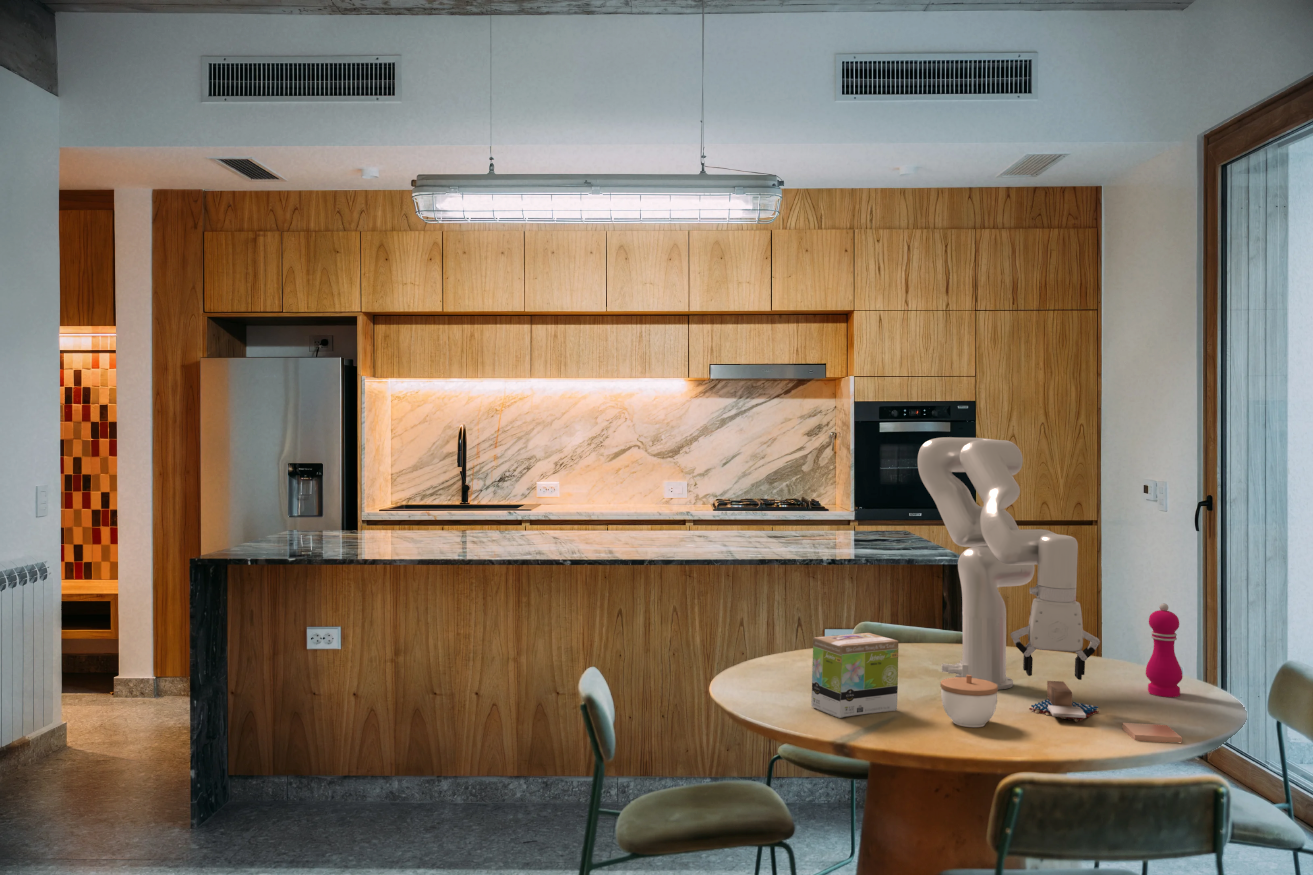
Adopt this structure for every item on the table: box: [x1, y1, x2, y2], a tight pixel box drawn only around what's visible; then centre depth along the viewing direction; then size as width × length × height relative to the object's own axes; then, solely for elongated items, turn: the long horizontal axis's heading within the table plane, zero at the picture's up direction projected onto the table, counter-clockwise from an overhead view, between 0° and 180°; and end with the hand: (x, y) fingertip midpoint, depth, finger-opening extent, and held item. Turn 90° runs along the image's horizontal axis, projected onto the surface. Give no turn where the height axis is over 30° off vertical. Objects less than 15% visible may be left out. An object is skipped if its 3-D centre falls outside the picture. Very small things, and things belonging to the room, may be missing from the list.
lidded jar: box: [939, 675, 999, 728], centre depth 187 cm, size 11×11×9 cm
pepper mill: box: [1145, 603, 1184, 698], centre depth 211 cm, size 7×7×20 cm
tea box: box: [810, 632, 899, 719], centre depth 196 cm, size 15×10×15 cm
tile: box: [1121, 722, 1183, 743], centre depth 179 cm, size 8×2×8 cm
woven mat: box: [1028, 698, 1100, 722], centre depth 195 cm, size 10×11×2 cm
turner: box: [1046, 680, 1087, 719], centre depth 194 cm, size 6×15×4 cm, turn 167°
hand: (1053, 676), depth 198 cm, fingers open, 9 cm apart
